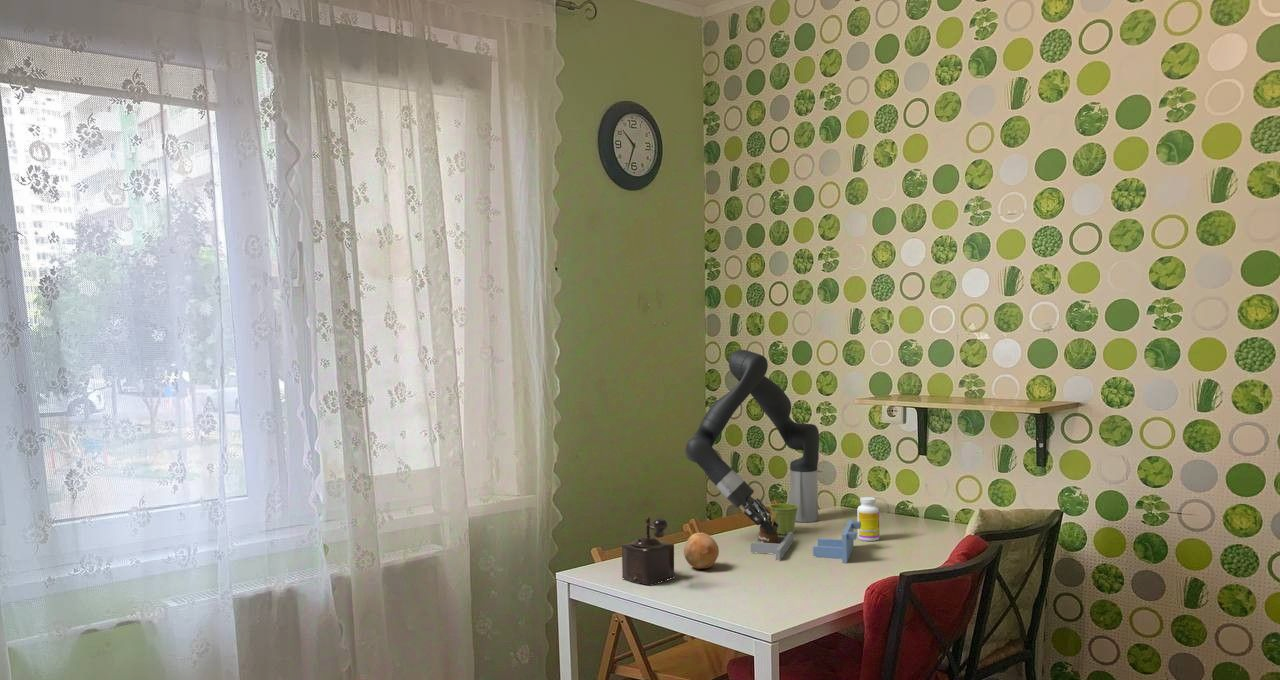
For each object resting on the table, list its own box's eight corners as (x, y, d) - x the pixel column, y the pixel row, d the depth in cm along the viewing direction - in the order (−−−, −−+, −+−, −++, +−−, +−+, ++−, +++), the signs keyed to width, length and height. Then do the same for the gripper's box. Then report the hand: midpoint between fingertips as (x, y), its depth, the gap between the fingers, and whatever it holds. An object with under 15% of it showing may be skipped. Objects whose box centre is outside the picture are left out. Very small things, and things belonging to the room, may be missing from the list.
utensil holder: (770, 546, 280) (770, 506, 280) (783, 550, 275) (782, 510, 274) (754, 548, 277) (754, 509, 277) (767, 553, 272) (766, 512, 271)
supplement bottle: (881, 541, 283) (881, 500, 283) (860, 541, 283) (859, 500, 283) (876, 536, 290) (876, 496, 290) (855, 536, 290) (855, 496, 290)
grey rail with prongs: (746, 558, 266) (745, 548, 266) (762, 539, 289) (761, 530, 289) (779, 560, 263) (779, 550, 263) (793, 541, 286) (793, 531, 286)
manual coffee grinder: (619, 579, 247) (617, 513, 246) (647, 571, 254) (646, 506, 254) (661, 590, 236) (659, 521, 235) (689, 581, 244) (688, 514, 243)
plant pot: (774, 528, 304) (774, 502, 304) (802, 530, 300) (802, 504, 300) (765, 534, 296) (765, 507, 296) (794, 537, 292) (793, 509, 291)
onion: (726, 568, 256) (726, 532, 256) (701, 575, 249) (700, 538, 249) (702, 562, 263) (701, 527, 263) (676, 568, 257) (676, 533, 256)
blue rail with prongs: (811, 560, 262) (810, 532, 262) (820, 544, 281) (819, 518, 281) (855, 563, 258) (854, 535, 258) (861, 546, 277) (861, 520, 277)
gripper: (738, 484, 271) (779, 527, 268) (748, 476, 285) (787, 516, 281) (720, 501, 273) (761, 544, 269) (731, 492, 287) (770, 533, 283)
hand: (774, 529), depth 275 cm, fingers closed on utensil holder, 5 cm apart
